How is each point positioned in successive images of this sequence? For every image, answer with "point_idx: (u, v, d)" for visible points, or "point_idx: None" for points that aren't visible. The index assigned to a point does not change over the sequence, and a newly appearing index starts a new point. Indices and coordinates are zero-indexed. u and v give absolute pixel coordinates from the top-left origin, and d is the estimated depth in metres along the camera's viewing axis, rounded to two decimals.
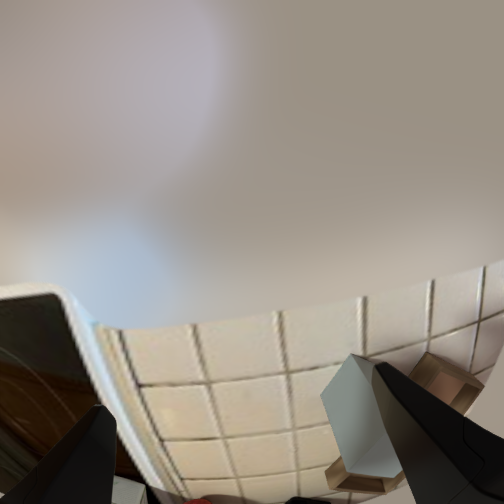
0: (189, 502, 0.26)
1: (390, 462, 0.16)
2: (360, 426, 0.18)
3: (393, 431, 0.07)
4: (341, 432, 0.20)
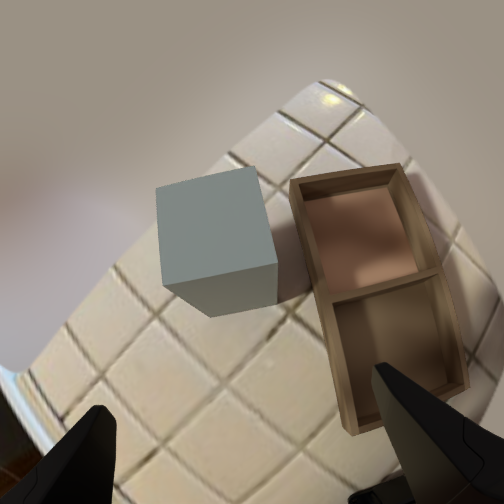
0: None
1: (222, 236, 0.13)
2: None
3: (393, 431, 0.07)
4: None
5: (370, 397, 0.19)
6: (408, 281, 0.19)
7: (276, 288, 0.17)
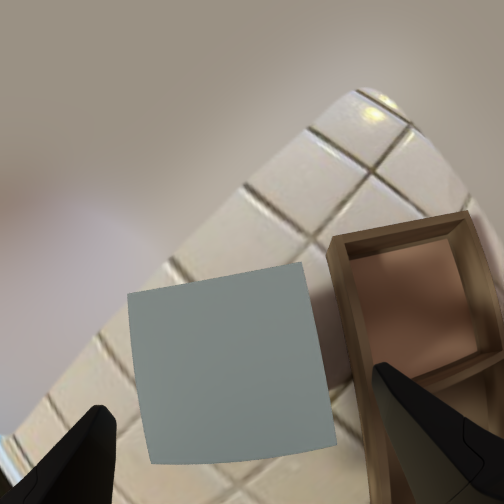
0: None
1: (245, 402, 0.07)
2: None
3: (393, 431, 0.07)
4: None
5: (407, 494, 0.12)
6: (472, 374, 0.12)
7: None
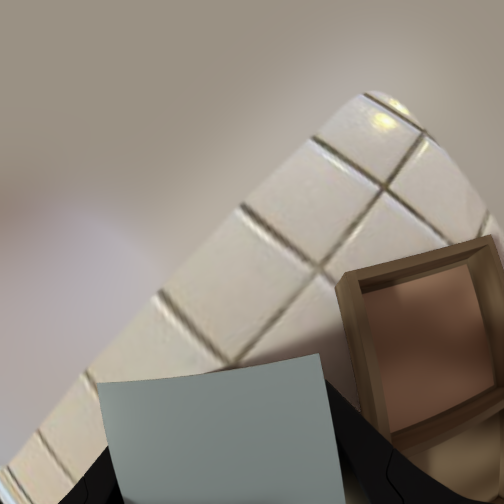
0: None
1: None
2: None
3: None
4: None
5: None
6: (489, 415, 0.10)
7: None
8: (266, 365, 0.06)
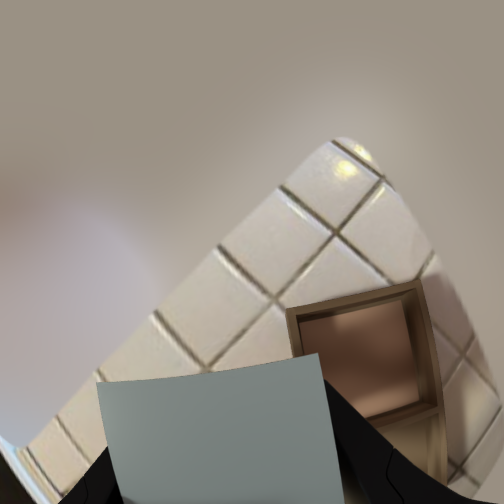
0: None
1: None
2: None
3: None
4: None
5: None
6: (403, 425, 0.15)
7: None
8: (265, 365, 0.06)
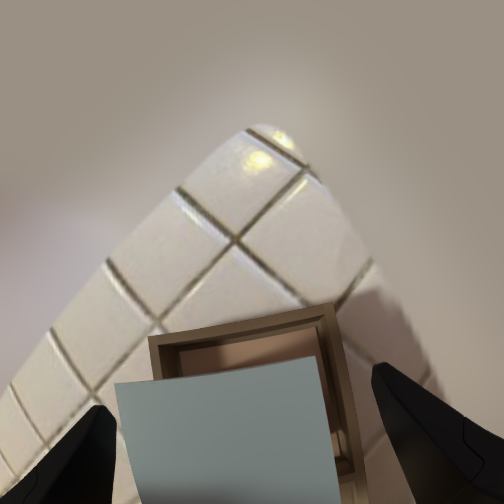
0: None
1: (250, 500, 0.05)
2: None
3: (393, 431, 0.07)
4: None
5: None
6: None
7: None
8: (268, 366, 0.07)
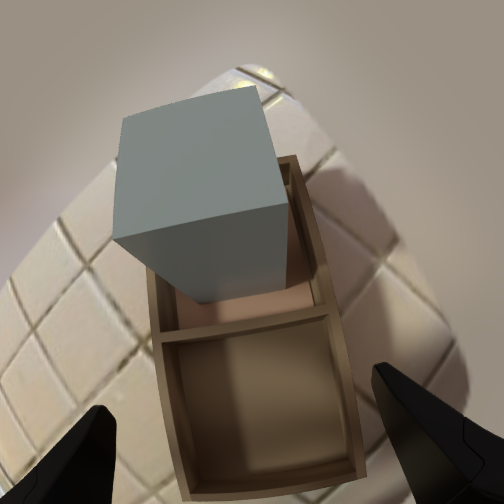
0: None
1: (204, 168, 0.09)
2: None
3: (393, 431, 0.07)
4: None
5: (228, 459, 0.14)
6: (274, 323, 0.14)
7: (285, 260, 0.12)
8: (226, 91, 0.10)
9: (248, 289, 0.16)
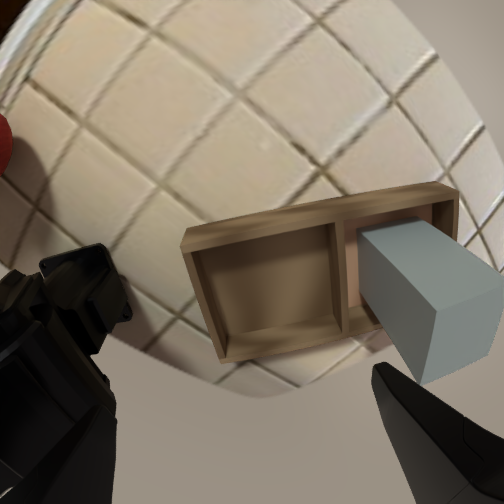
0: None
1: (453, 348, 0.12)
2: (451, 270, 0.13)
3: (393, 431, 0.07)
4: (411, 267, 0.14)
5: (220, 257, 0.20)
6: (341, 303, 0.19)
7: (386, 331, 0.17)
8: (492, 341, 0.12)
9: (366, 278, 0.20)
